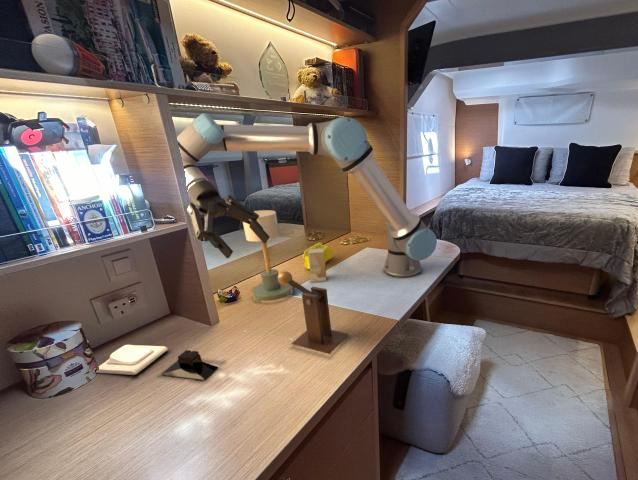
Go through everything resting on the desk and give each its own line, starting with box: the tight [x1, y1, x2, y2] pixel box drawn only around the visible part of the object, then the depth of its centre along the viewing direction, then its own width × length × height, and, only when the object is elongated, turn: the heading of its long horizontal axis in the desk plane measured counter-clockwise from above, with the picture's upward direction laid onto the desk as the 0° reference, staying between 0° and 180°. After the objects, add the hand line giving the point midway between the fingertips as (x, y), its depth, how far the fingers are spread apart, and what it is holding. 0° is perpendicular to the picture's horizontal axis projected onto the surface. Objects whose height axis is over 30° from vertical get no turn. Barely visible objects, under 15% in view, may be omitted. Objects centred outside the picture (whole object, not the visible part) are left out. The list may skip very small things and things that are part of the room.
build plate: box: [161, 349, 219, 382], centre depth 84 cm, size 12×7×5 cm, turn 78°
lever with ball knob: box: [278, 270, 323, 303], centre depth 89 cm, size 13×4×4 cm, turn 66°
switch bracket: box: [290, 286, 349, 355], centre depth 91 cm, size 12×10×16 cm
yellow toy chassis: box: [302, 241, 334, 270], centre depth 150 cm, size 16×6×8 cm, turn 158°
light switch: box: [95, 344, 169, 376], centre depth 89 cm, size 11×4×13 cm
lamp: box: [242, 209, 294, 303], centre depth 118 cm, size 14×14×30 cm
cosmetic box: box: [307, 249, 327, 283], centre depth 133 cm, size 6×4×12 cm
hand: (249, 247), depth 92 cm, fingers open, 13 cm apart
